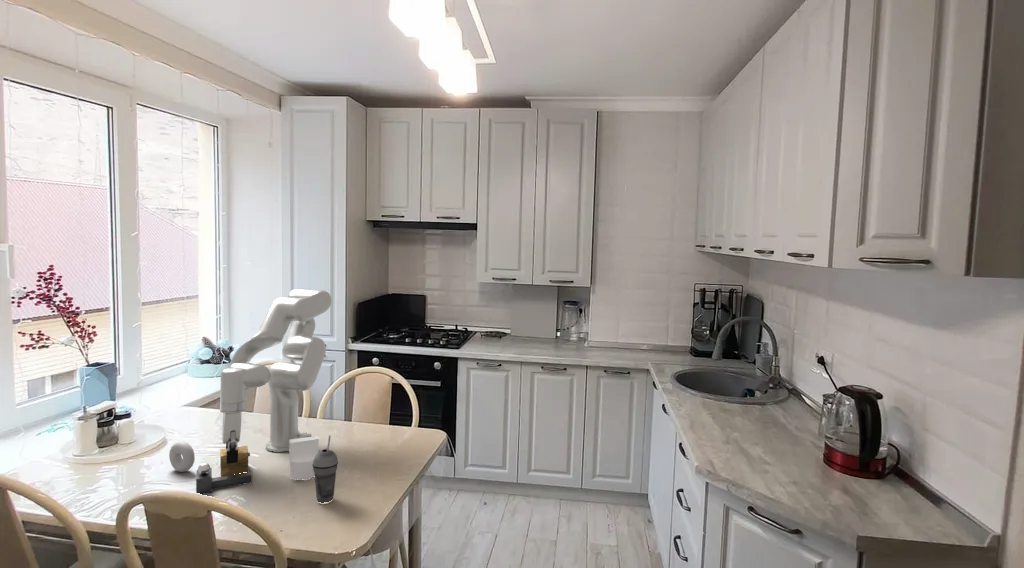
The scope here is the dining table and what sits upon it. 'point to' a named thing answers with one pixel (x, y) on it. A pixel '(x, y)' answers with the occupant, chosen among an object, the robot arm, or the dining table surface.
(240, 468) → the block
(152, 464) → the dining table surface
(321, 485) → the beverage cup
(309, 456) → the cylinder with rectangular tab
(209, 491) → the rail
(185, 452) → the donut
